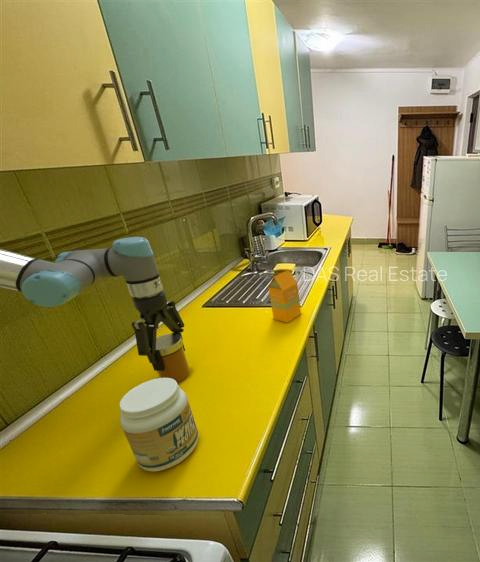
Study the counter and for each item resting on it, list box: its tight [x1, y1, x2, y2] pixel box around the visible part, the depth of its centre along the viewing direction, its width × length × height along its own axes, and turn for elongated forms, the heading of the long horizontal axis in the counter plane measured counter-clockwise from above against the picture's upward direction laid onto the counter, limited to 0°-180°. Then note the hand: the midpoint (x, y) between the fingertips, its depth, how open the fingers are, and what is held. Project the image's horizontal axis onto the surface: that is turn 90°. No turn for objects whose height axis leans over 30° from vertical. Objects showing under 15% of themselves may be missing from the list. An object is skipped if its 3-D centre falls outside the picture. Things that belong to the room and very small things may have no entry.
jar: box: [156, 346, 191, 384], centre depth 93 cm, size 8×8×12 cm
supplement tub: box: [119, 377, 199, 472], centre depth 68 cm, size 12×12×17 cm
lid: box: [156, 333, 184, 356], centre depth 91 cm, size 9×9×2 cm
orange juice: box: [268, 268, 302, 324], centre depth 126 cm, size 8×9×20 cm
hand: (170, 360), depth 93 cm, fingers closed on lid, 9 cm apart
